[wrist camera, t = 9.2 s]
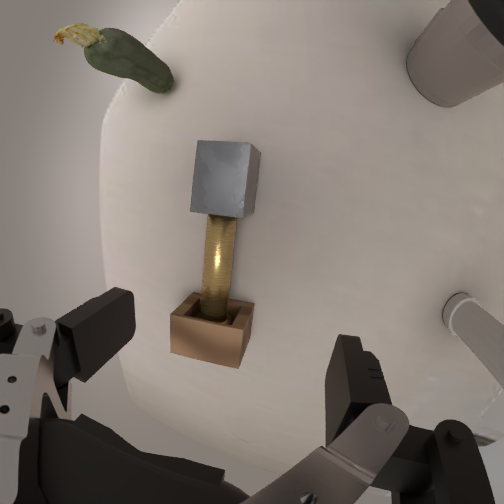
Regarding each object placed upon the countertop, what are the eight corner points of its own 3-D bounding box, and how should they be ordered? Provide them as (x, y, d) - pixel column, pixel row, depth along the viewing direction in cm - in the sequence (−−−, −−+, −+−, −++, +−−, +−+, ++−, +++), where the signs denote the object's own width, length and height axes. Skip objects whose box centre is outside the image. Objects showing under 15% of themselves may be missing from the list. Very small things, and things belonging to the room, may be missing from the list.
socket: (193, 292, 36) (170, 314, 29) (254, 303, 35) (243, 329, 28) (192, 326, 37) (170, 352, 30) (249, 337, 36) (238, 368, 29)
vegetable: (186, 71, 30) (92, -7, 11) (186, 100, 31) (82, 34, 12) (156, 78, 31) (53, 17, 12) (155, 107, 32) (41, 58, 13)
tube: (212, 181, 31) (199, 180, 27) (249, 185, 30) (241, 184, 26) (201, 321, 35) (189, 336, 31) (233, 327, 34) (225, 344, 30)
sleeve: (217, 149, 32) (197, 140, 26) (260, 152, 31) (251, 143, 25) (210, 207, 34) (190, 211, 27) (253, 212, 33) (242, 218, 26)
